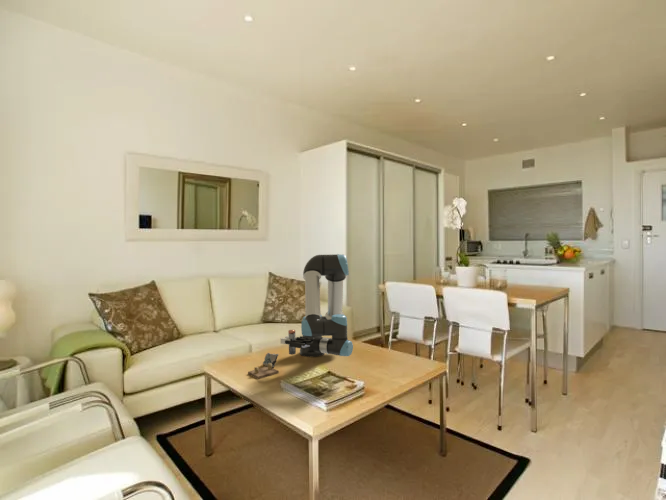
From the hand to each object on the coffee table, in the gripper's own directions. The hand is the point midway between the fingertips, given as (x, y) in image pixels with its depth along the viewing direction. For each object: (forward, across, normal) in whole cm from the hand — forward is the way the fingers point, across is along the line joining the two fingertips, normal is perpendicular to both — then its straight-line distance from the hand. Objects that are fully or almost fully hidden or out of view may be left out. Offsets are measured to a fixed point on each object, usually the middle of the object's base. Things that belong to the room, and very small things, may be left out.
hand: (283, 339), depth 197 cm
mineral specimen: (+11, +5, -17) cm, 21 cm away
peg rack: (+7, -8, -16) cm, 20 cm away
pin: (-5, 0, -7) cm, 9 cm away
